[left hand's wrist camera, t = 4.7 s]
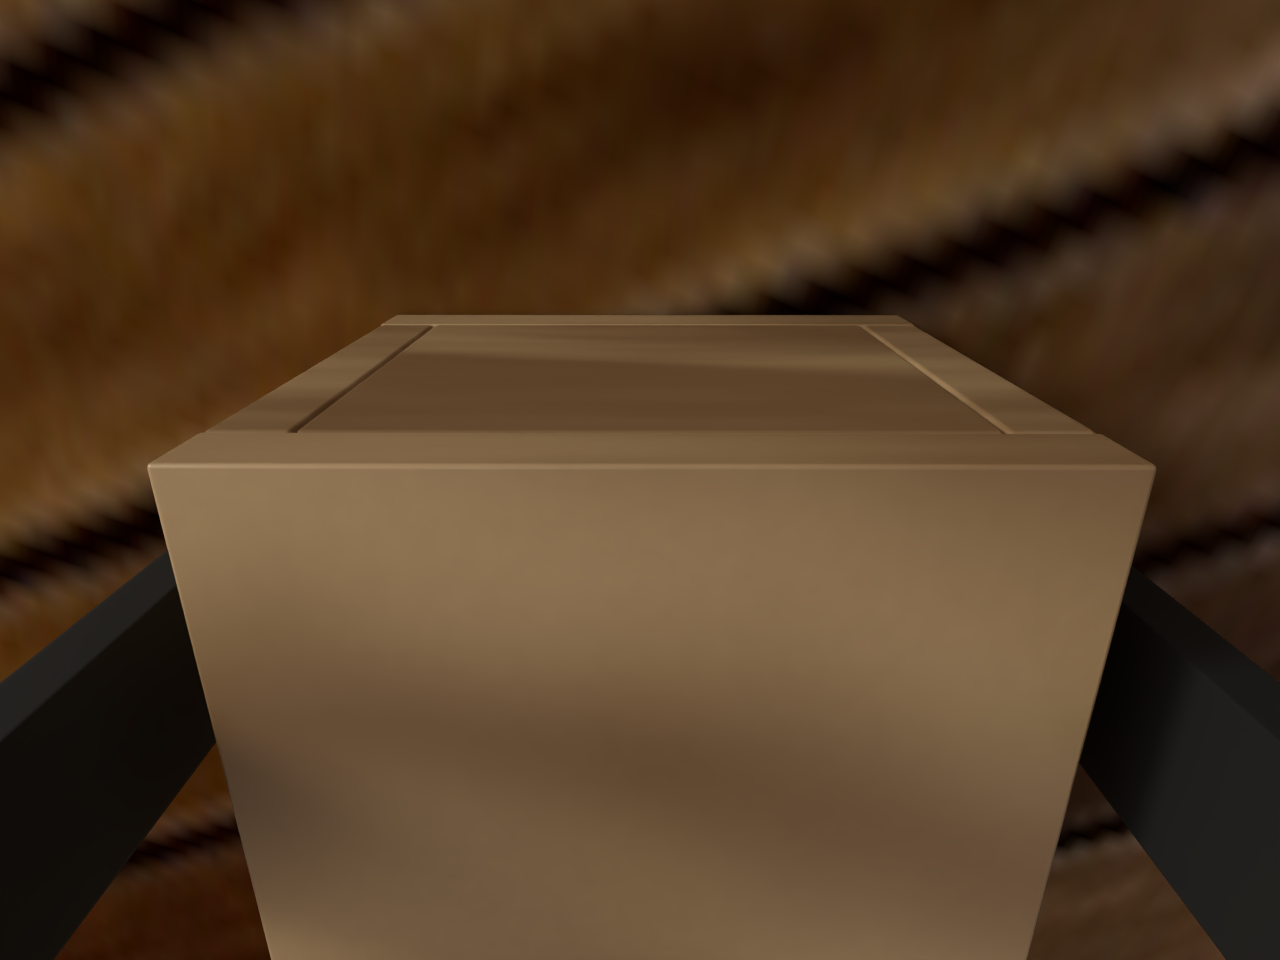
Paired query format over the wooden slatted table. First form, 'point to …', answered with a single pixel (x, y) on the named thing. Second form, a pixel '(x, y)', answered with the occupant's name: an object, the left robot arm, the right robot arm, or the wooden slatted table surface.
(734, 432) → the cabinet
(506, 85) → the wooden slatted table surface
